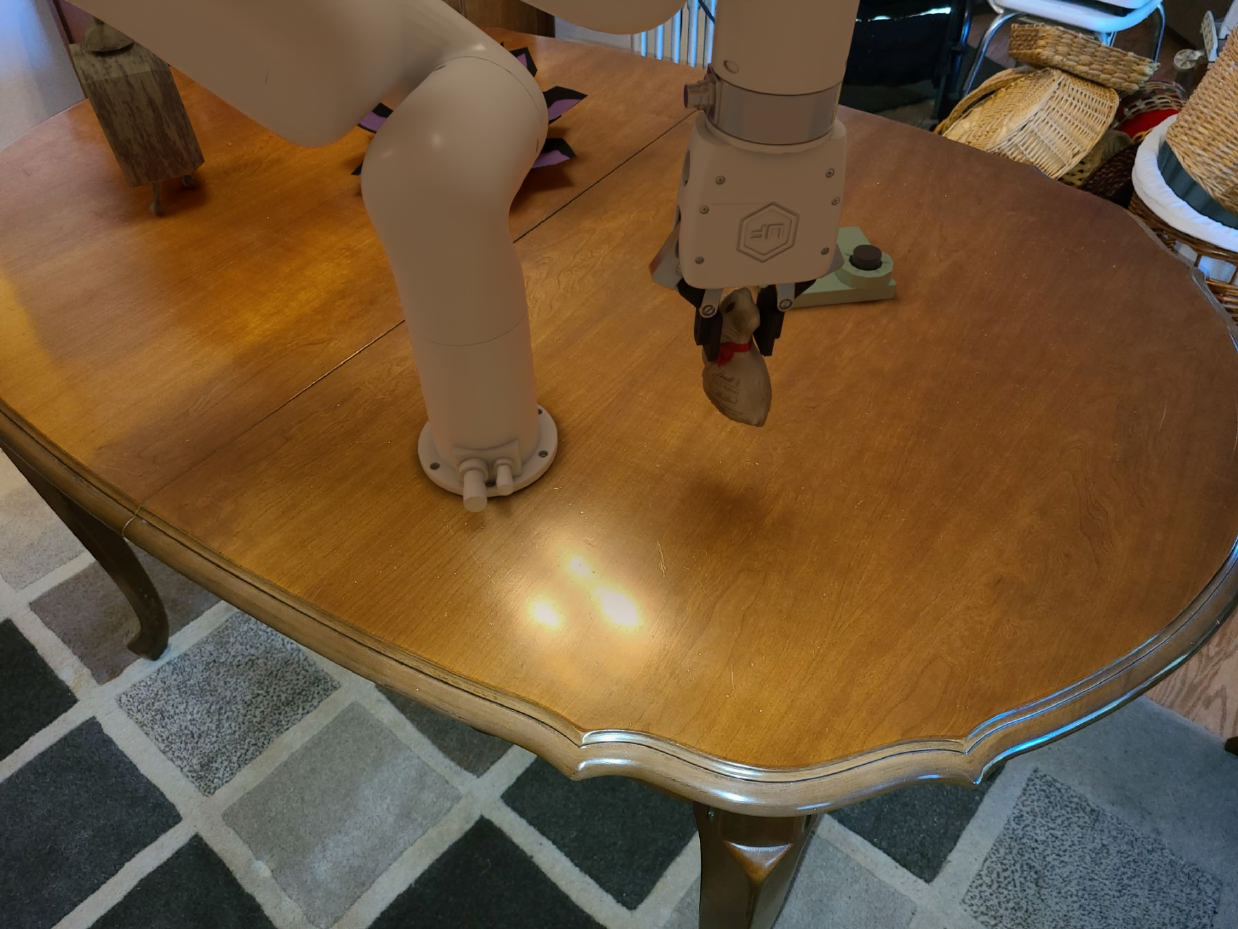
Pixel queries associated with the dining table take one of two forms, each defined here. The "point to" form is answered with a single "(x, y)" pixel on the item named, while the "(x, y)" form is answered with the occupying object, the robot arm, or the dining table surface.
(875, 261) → the button
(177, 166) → the tabletop clock
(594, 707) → the dining table surface
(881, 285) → the scale
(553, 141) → the decorative flower
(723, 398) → the chocolate bunny
